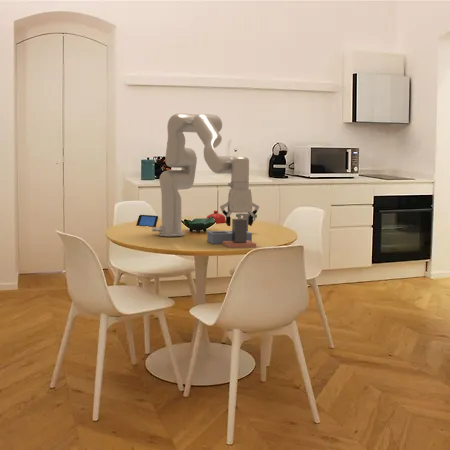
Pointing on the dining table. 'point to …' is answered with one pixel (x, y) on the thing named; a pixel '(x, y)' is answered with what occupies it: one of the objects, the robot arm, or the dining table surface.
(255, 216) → the mechanical component
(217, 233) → the blue-grey tray
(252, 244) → the terracotta mat
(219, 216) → the butter dish
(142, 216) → the tablet display
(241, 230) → the block
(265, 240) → the dining table surface
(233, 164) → the robot arm
